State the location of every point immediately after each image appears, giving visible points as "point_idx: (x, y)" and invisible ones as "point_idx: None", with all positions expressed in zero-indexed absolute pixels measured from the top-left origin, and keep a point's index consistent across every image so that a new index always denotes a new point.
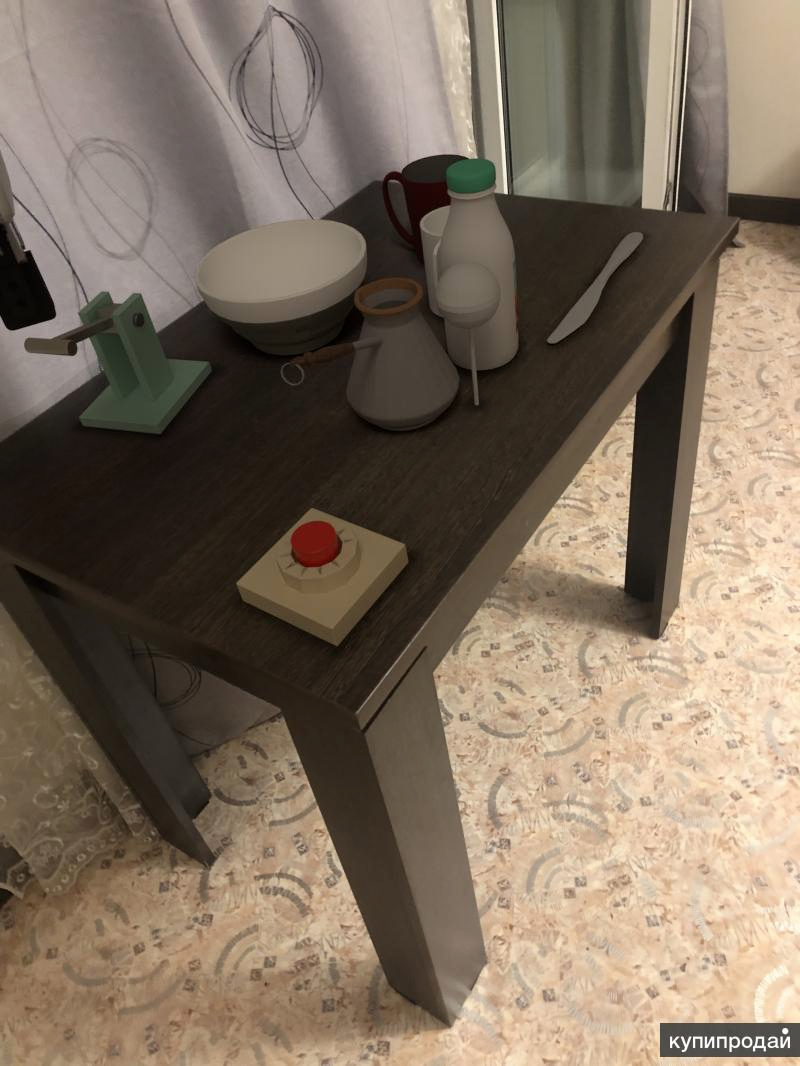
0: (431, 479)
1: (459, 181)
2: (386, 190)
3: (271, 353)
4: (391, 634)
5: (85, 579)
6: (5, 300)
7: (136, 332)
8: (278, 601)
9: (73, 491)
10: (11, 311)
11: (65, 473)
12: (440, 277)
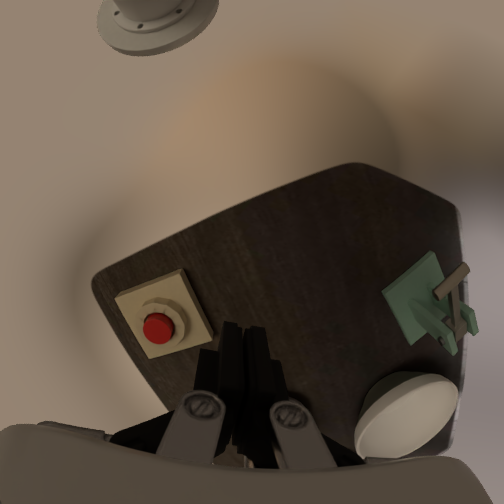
0: None
1: None
2: None
3: (385, 377)
4: (113, 316)
5: (278, 189)
6: (198, 365)
7: (437, 332)
8: (148, 286)
9: (374, 217)
10: (200, 353)
11: (396, 220)
12: None
